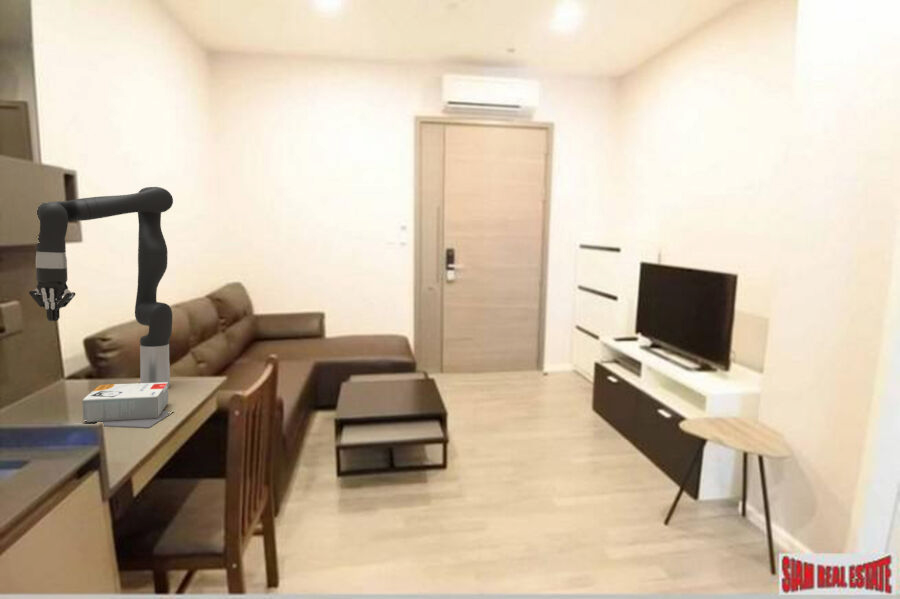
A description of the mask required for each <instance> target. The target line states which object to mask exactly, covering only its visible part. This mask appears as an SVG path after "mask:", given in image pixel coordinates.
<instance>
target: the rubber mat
mask: <svg viewBox="0 0 900 599" xmlns="http://www.w3.org/2000/svg"><path fill="white" fill-rule="evenodd" d="M169 411H170V410H163V411H162V412H161V414H160V415H159V417H158V418H152V419H135V420H118V421H101V422H103V424H104V426H103V427H106V426H108V427H110V428H114V427H115V428H134V429H137V428H138V429H139V428H140V429H150V428H152V427H153V426H155V425H157V424H159V423H160V422H161V421H163V420H164V419H166V418H167V417H168V416H167V415H169V414H170V413H168V412H169ZM170 415H171V414H170ZM170 415H169V416H170ZM166 416H167V417H166ZM165 417H166V418H165ZM163 418H164V419H163ZM162 419H163V420H162ZM159 421H160V422H159ZM156 423H157V424H156Z"/></svg>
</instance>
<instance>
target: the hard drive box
mask: <svg viewBox="0 0 900 599" xmlns="http://www.w3.org/2000/svg"><path fill="white" fill-rule="evenodd" d="M168 403H169V388H168V382H160V383H138V382H136V383H113V384H100V385H98V386H97V387H95V389H94V390H92V391H91V392H90V393H88V394H87V395H86V396H85V397H84V398H83V399H82V421H83V420H87V422H86V423H95V422H101V421H118V420H135V419H152V418H158V417H159V415H160V414H161V412H162V411H164V409H165V407H166V406H167V405H168Z"/></svg>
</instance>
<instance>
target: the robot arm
mask: <svg viewBox="0 0 900 599" xmlns="http://www.w3.org/2000/svg"><path fill="white" fill-rule="evenodd" d="M47 202H48V201H47ZM41 203H42V204H41V205H40V206H39V207H38V210H37V215H38V218H39V220H40V223H39V233H38V234H39V235H38V234H37V235H38V236H39V238H38V240H39V242H40V243H38V244H36V243H35V246H36V247H35V248H36V254H35V278H36V281H37V284H36V288H35V289H33V290H29V292H28V294H29V296H31V297H32V299H33V300H34V301H35V302H36V303H37V305H38V306H39V307H40V308H44V309H46V319H47V320H48V321H49V322H57V321H58V320H59V319H60V313H61V312H60V310H61V309H62V308H66V307H67V306H68V305H69V304H70V303H71V301H72V300H73V299H74V298H75V296H76V295H77V294H76V292H72V291H71V290H69V286H68V285H67V281H68V259H67V253H66V251H67V250H66V246H67V245H66V236H67V231H68V225H69V222H74V221H90V220H98V219H103V218H110V217H115V216H120V215H126V214H133V213H137V217H138V218H137V219H138V237H137V238H138V240H137V241H138V245H137V246H138V247H137V289H136V290H137V292H136V298H135V307H134V317H135V320H136V321H137V323H139V325H143V326H147V327H148V333H147V334H145V335H142V336H141V337H140V340H139V347H140V348H139V350H140V351H139V352H140V353H139V356H140V361H139V362H140V363H139V364H140V368H139V369H140V371H139V372H140V376H139V377H140V378H139V379H140V383H160V382H168V389H169V388H170V386H171V382H170V381H171V380H170V378H171V377H170V376H171V375H170V373H171V372H170V371H171V370H170V369H171V364H170V363H171V362H170V339H171V336H172V334H173V332H172V330H173V310H172V308H171V306H170V305H169V304H167V303H165V302H161V301H160V302H159V301H157V293H158V292H157V291H158V286H159V283H160V282H161V280H162V279H163V277H164V276H165V273H166V271H167V269H168V247H167V246H168V245H167V244H166V243H167V242H166V240H165V237H164V234H163V232H162V226H161V225H162V224H161V223H162V222H161V221H162V220H161V219H162V213H165V212H167V211H169V210H170V209H171V208H172V206H173V204H174V199H173V196H172V194H171V192H169V190H167V189H165V188H164V187H159V186H148V187H143V188H141V189H140V190H139V191H138V192H136V193H130V194H121V195H120V194H119V195H118V194H117V195H104V196H103V195H102V196H93V197H84V198H76V199H70V200H58V201H49V202H48V203H45V202H41Z"/></svg>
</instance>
